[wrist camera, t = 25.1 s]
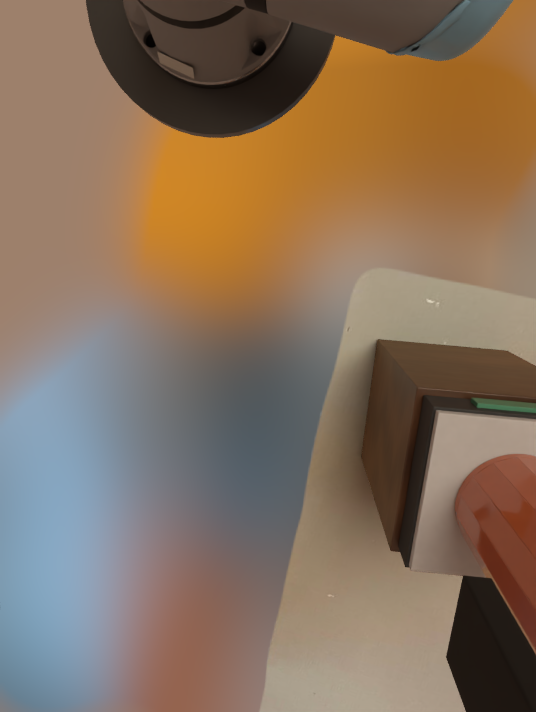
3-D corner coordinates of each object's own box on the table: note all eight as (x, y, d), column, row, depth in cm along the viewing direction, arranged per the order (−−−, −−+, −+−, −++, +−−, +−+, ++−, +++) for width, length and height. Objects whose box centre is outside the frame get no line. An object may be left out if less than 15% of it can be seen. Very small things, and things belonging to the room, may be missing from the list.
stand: (377, 339, 49) (417, 386, 33) (507, 350, 48) (609, 404, 33) (360, 457, 52) (390, 551, 36) (483, 469, 52) (565, 569, 36)
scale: (424, 390, 33) (436, 405, 30) (601, 406, 33) (631, 423, 30) (397, 546, 36) (407, 573, 33) (560, 562, 36) (583, 591, 33)
